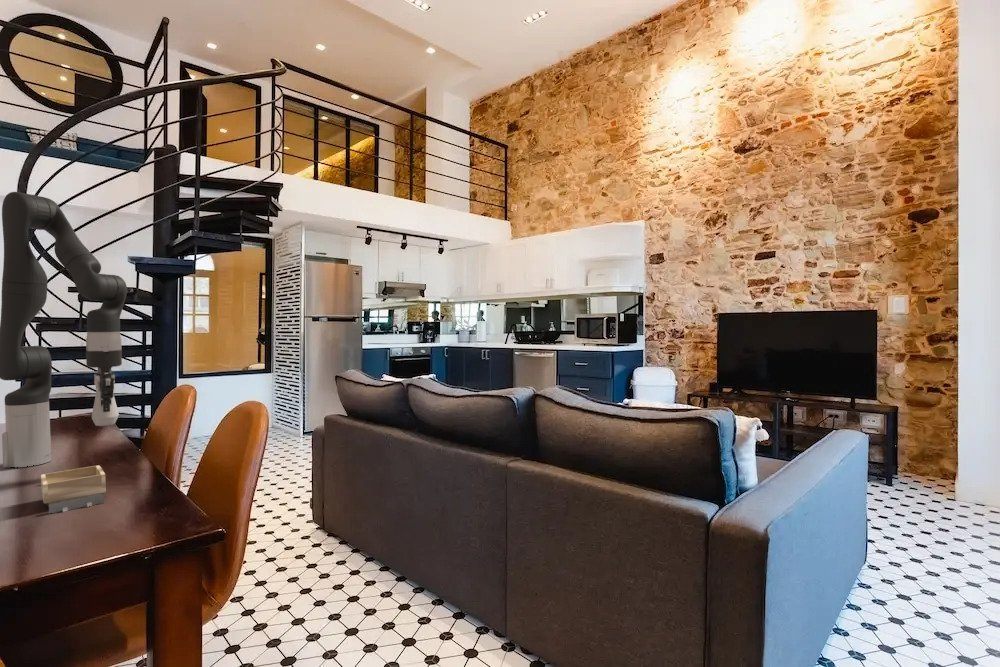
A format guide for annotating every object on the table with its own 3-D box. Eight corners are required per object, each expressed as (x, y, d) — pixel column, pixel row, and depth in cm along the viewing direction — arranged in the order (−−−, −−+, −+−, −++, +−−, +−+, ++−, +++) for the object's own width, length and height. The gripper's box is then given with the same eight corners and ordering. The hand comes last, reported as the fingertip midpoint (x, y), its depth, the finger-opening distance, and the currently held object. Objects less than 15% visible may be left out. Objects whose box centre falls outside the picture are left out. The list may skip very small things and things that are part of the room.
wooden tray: (44, 510, 108) (43, 484, 107) (41, 498, 115) (40, 474, 115) (106, 497, 115) (105, 474, 115) (100, 487, 122) (99, 465, 122)
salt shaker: (124, 422, 140) (123, 375, 140) (106, 426, 135) (105, 377, 134) (104, 421, 141) (103, 374, 141) (86, 426, 135) (85, 377, 135)
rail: (42, 484, 126) (42, 476, 126) (89, 476, 132) (89, 468, 132) (49, 514, 106) (49, 505, 106) (104, 503, 112) (103, 494, 112)
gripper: (83, 348, 140) (84, 411, 140) (89, 350, 130) (90, 418, 130) (117, 347, 145) (118, 407, 145) (125, 349, 135) (126, 414, 135)
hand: (105, 412), depth 138 cm, fingers closed on salt shaker, 3 cm apart
